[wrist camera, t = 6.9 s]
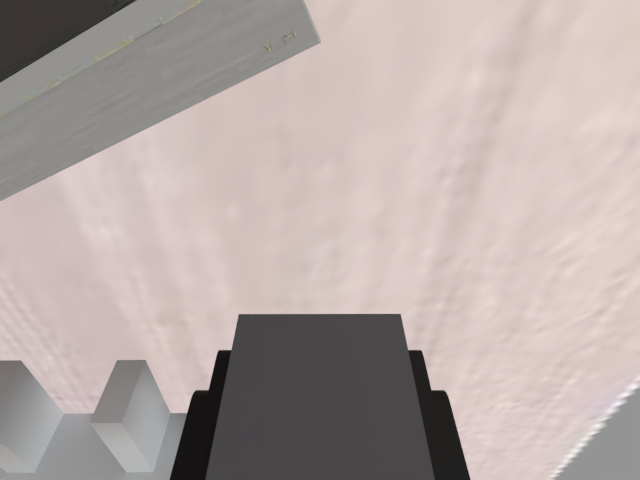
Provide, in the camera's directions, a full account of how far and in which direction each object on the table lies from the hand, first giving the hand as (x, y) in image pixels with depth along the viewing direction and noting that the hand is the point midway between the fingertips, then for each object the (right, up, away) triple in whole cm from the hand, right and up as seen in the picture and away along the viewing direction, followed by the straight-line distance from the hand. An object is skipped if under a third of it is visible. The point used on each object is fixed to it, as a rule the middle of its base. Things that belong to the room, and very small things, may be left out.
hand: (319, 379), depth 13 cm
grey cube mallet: (0, -3, +3) cm, 5 cm away
